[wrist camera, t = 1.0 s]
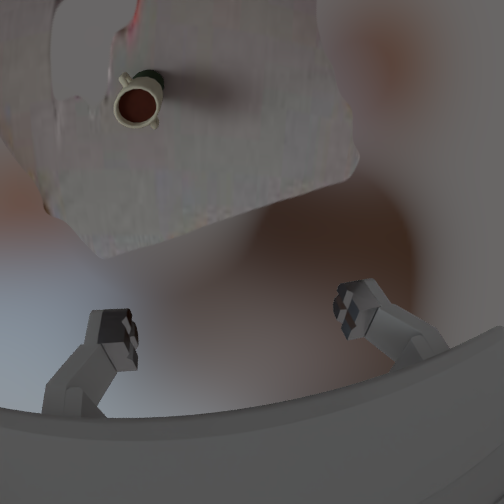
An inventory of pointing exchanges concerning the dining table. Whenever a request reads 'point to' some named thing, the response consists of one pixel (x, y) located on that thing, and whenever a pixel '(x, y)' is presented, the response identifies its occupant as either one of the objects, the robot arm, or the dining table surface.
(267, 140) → the dining table surface
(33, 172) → the dining table surface
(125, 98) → the character mug
